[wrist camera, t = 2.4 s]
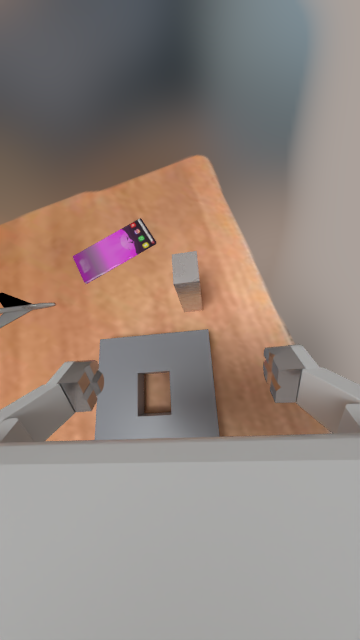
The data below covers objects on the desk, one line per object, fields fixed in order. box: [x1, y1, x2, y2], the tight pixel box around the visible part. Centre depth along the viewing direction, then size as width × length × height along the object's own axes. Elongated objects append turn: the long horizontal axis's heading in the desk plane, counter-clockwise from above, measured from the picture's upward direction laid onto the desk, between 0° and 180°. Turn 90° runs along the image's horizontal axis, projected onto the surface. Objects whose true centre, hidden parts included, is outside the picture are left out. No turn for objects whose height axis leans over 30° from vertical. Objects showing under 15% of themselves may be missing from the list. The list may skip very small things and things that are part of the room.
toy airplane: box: [0, 293, 55, 328], centre depth 38 cm, size 8×21×2 cm, turn 94°
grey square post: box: [172, 251, 203, 312], centre depth 29 cm, size 4×3×10 cm
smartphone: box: [73, 218, 156, 284], centre depth 39 cm, size 7×15×1 cm, turn 119°
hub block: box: [95, 329, 220, 440], centre depth 29 cm, size 16×16×3 cm
